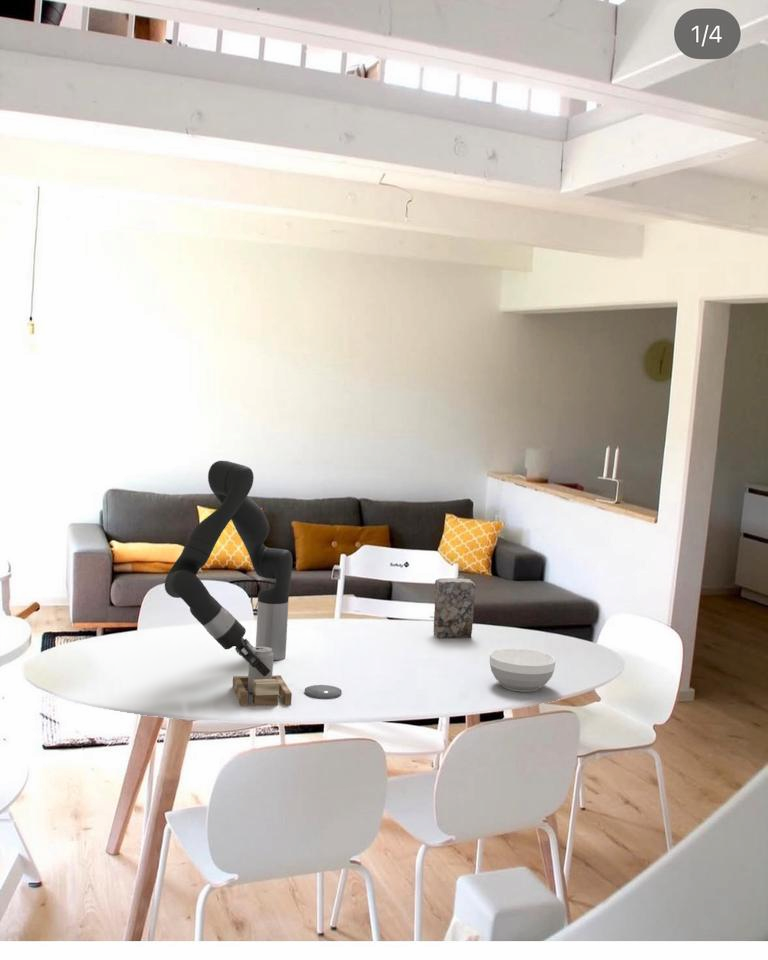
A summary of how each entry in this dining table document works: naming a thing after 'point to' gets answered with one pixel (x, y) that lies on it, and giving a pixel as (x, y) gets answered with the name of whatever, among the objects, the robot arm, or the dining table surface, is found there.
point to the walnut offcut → (265, 700)
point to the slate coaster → (323, 691)
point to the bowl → (522, 669)
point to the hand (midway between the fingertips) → (264, 669)
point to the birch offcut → (266, 687)
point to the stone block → (454, 608)
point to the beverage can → (267, 660)
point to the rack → (242, 683)
